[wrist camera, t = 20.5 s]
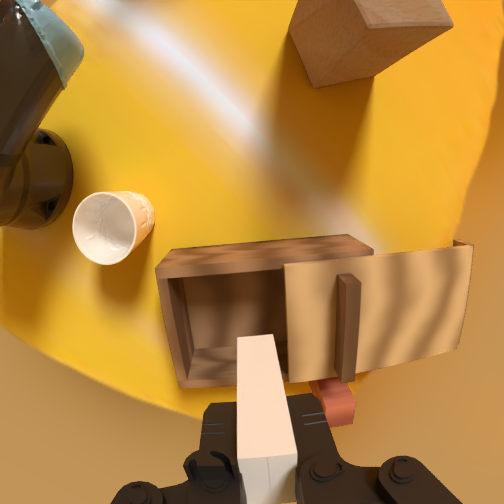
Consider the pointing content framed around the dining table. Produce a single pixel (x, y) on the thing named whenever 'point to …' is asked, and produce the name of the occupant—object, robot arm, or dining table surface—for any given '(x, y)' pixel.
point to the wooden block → (361, 35)
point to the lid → (374, 310)
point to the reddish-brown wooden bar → (335, 400)
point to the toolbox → (233, 300)
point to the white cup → (112, 225)
